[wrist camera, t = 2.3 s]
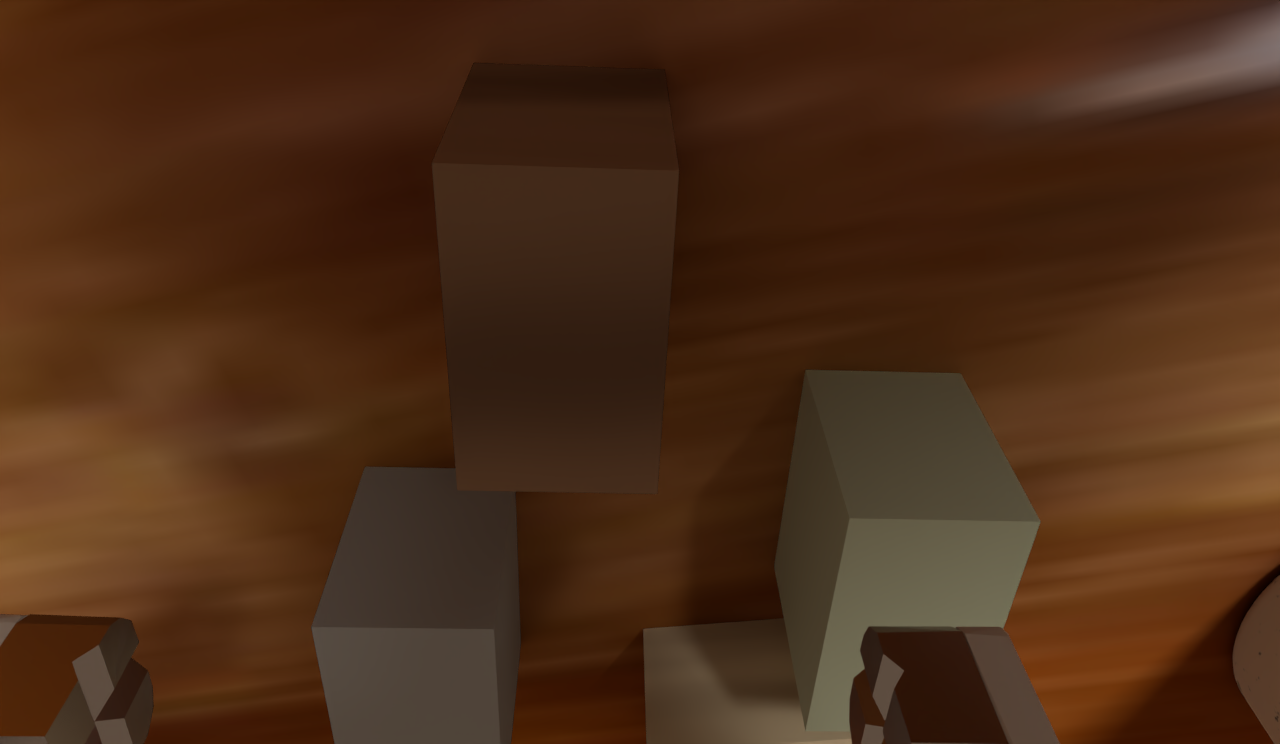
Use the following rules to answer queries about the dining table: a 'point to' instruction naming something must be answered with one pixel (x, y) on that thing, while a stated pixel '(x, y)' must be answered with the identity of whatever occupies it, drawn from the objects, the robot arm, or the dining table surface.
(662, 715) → the maple block
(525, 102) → the walnut block
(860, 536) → the sage block
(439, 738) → the grey block
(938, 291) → the dining table surface
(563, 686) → the dining table surface
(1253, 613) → the teacup with lid
